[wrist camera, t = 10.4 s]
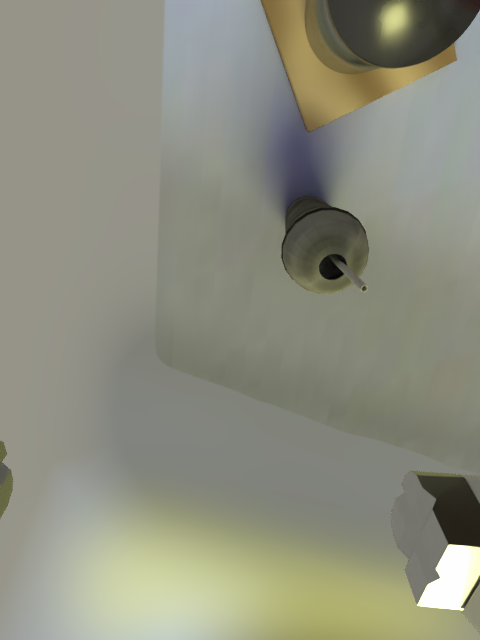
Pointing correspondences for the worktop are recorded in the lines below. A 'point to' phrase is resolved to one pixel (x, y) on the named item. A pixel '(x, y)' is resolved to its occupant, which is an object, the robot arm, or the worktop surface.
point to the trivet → (325, 84)
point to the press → (384, 31)
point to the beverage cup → (324, 247)
